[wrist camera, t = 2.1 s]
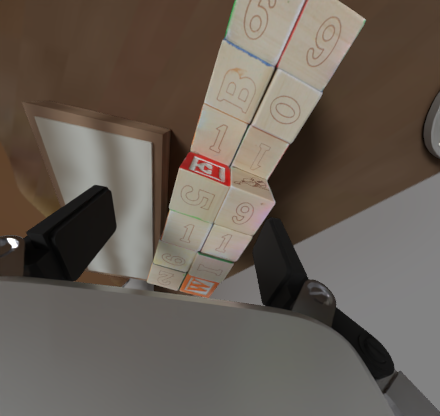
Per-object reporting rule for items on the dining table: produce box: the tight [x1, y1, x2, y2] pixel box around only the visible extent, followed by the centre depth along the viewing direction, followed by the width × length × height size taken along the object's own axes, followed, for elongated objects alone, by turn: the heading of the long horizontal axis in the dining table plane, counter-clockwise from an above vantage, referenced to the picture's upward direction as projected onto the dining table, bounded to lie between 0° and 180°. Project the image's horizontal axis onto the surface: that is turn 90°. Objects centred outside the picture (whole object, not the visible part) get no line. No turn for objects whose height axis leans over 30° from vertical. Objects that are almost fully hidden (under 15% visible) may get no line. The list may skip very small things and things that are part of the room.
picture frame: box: [22, 101, 171, 281], centre depth 25 cm, size 13×26×3 cm, turn 168°
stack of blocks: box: [147, 0, 366, 298], centre depth 16 cm, size 21×6×12 cm, turn 158°
